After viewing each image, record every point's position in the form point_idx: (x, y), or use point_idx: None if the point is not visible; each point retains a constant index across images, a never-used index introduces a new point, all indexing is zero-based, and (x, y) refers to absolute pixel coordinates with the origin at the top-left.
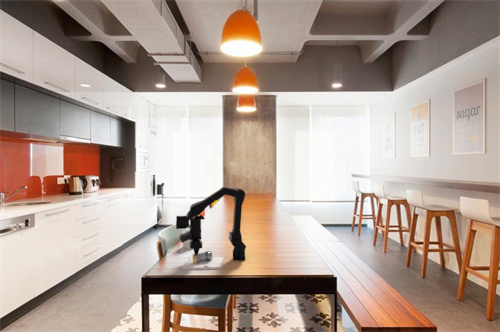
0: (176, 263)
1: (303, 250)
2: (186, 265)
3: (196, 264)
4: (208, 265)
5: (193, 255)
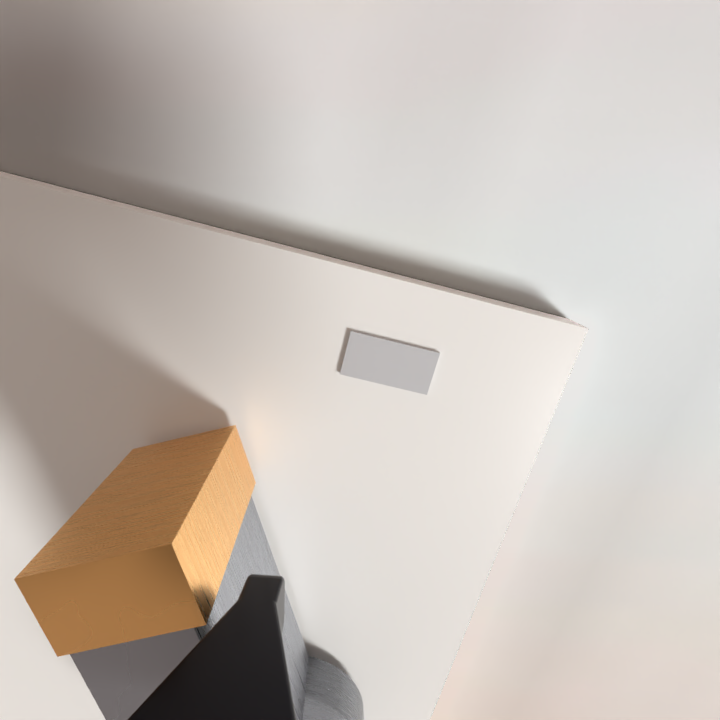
0: (409, 2)
1: None
2: (55, 267)
3: (90, 488)
4: (4, 682)
5: (62, 569)
